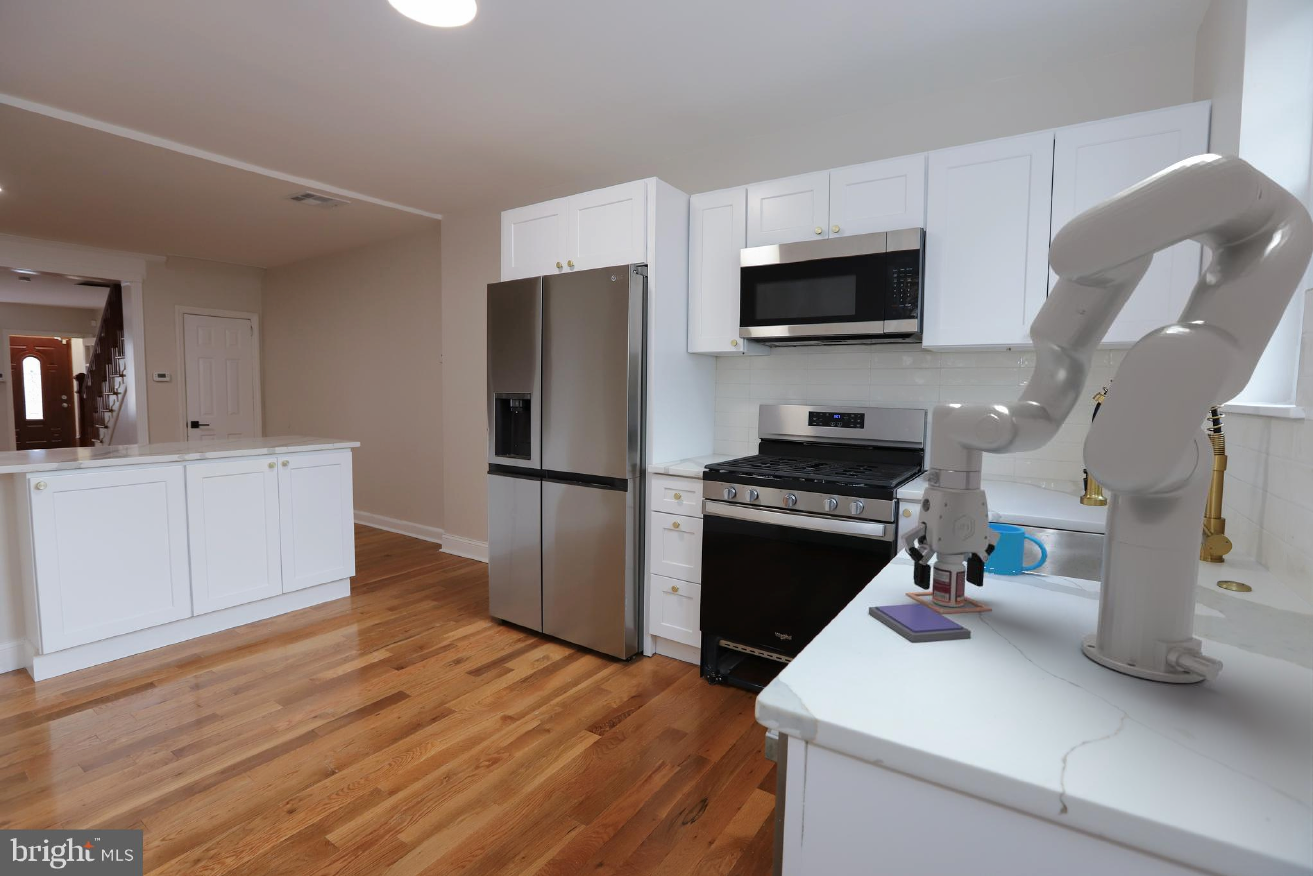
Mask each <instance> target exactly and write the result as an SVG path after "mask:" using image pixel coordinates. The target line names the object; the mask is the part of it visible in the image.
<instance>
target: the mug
mask: <svg viewBox="0 0 1313 876" xmlns="http://www.w3.org/2000/svg"><path fill="white" fill-rule="evenodd" d="M989 528H991V529H993V530H994V531H996V532H998V533H999V534H1000V538H999V540H998V542H997V544H996V545H995V550H994V551H993V552H992V553H991V555H990V556H989V560H988V561H987V562H985V564H984V567H986V568H984V573H987V572H988V573H987V574H991V573H994V574H993V575H998V576H1006V575H1007V576H1008V577H1009V576H1010V577H1013V576H1020V575H1022V574H1023V572H1029V571H1035V570H1036V569H1039V568H1041V567H1042V566H1043V565H1044V564H1045V563H1046V561H1047V559H1048V551H1047V548H1046V547H1045V545H1044V544H1043V542H1041V541H1040V540H1039V539H1038V538H1036V537H1033V536H1032V535H1029V534H1026V530H1025V529H1024V528H1022V527H1018V526H1016V525H1015V526H1014V525H1010V524H1005V523H995V522H994V523H990V522H989ZM1025 539H1026V540H1028V541H1031V542H1033V543H1034V544H1035V545H1036V546H1037V547H1038V548H1039V549H1040V553H1041V557H1040V559H1039V560H1038V561H1037V562H1036V563H1035V564H1032V565H1028V566H1024V555H1025V553H1024V552H1025V541H1026V540H1025ZM990 568H994V569H990ZM1013 571H1015V572H1013Z"/></svg>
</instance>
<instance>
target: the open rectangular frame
mask: <svg viewBox="0 0 1313 876" xmlns="http://www.w3.org/2000/svg"><path fill="white" fill-rule="evenodd" d="M905 596H907V597H909V598H910V599H913V600H914V601H916V602H918V603H919V604H923V605H924V606H926V607H928V608H930V609H932V610H934V611H935V612H937V613H939V614H941V615H944V614H945V615H947V614H959V613H961V614H963V613H974V612H975V613H977V612H978V613H979V612H990V611H992V610H993V608H991V607H989V606H987V605H985V604H983V603H981V602H979V601H976V600H974V599H972V598H970V597H968V596H966V595H964V601H966V602H968V603H970V604H973V605H974V606H976V607H969V608H967V607H966V608H965V607H964V608H953V609H941V608H939V607H937V606H936V605H933V604H932V603H930V602H928V601H926V600H924V599H923V598H920V596H932V591H921V592H920V591H919V592H918V591H917V592H905Z"/></svg>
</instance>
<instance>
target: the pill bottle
mask: <svg viewBox="0 0 1313 876" xmlns="http://www.w3.org/2000/svg"><path fill="white" fill-rule="evenodd" d="M935 555H936V556H935V557H936V561H934V563H933V569H932V585H931V586H932V588H931V592H932V595H931V601H932V602H933V603H935V604H936V605H938V606H942V607H947V608H948V607H950V608H958V607H960V608H961V607H963V606H964V604H965V600H964V596H965V590H966V572H967V566H966V565H965V564H964V561H965V553H961V554H938V553H935Z"/></svg>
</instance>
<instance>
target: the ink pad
mask: <svg viewBox="0 0 1313 876" xmlns="http://www.w3.org/2000/svg"><path fill="white" fill-rule="evenodd" d="M868 614H869V615H870V616H871V617H873V618H874V619H876V620H878V621H879V622H880V623H882V624H884V625H886V626H887V627H889V628H890V629H892V630H893V631H894V632H896V633H898V634H899V635H900V636H902V637H904V638H905V639H907V640H909V642H911V643H922V642H935V641H948V640H949V641H950V640H963V639H971V635H972V631H971V630H970V629H968V628H966V627H965V626H963V625H961V624H959V623H958V622H955V621H953V620H951V619H950V618H948V617H946V616H944V614H940V613H938V612H936V611H934V610H933V609H931V608H929V607H927V606H925V605H923V604H922V603H912V604H911V603H909V604H898V605H897V604H896V605H893V604H892V605H882V606H881V605H879V606H869V607H868Z"/></svg>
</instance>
